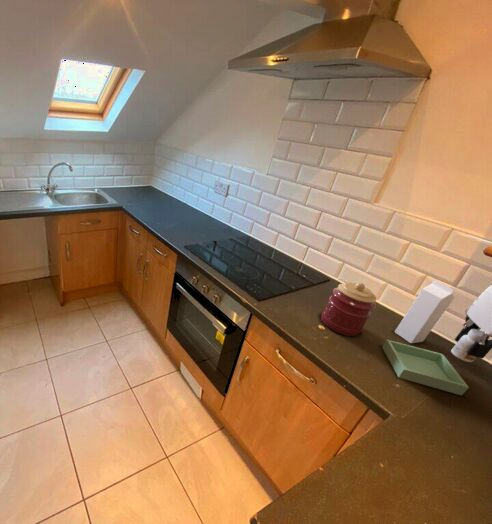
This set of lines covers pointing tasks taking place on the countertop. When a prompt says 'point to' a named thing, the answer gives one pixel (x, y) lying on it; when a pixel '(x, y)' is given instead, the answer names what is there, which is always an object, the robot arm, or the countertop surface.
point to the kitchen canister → (349, 308)
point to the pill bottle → (466, 345)
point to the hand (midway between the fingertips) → (468, 348)
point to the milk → (425, 312)
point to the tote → (424, 367)
